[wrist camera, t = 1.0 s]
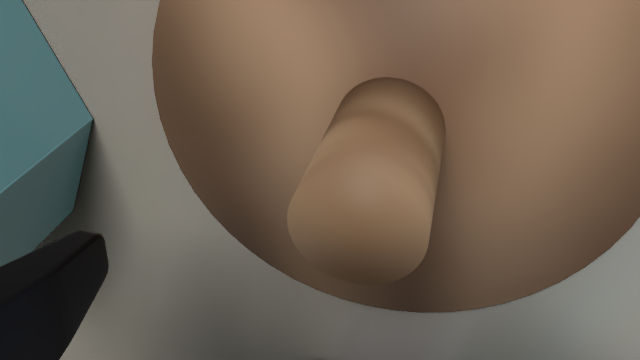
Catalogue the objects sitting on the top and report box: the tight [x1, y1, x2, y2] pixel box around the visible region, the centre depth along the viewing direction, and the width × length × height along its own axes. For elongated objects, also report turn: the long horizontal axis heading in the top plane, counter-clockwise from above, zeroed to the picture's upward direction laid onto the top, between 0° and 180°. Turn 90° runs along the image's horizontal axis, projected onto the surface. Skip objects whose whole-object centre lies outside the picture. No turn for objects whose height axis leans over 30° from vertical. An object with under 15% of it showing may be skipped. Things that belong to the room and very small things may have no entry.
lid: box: [152, 0, 640, 312], centre depth 14 cm, size 14×14×5 cm
